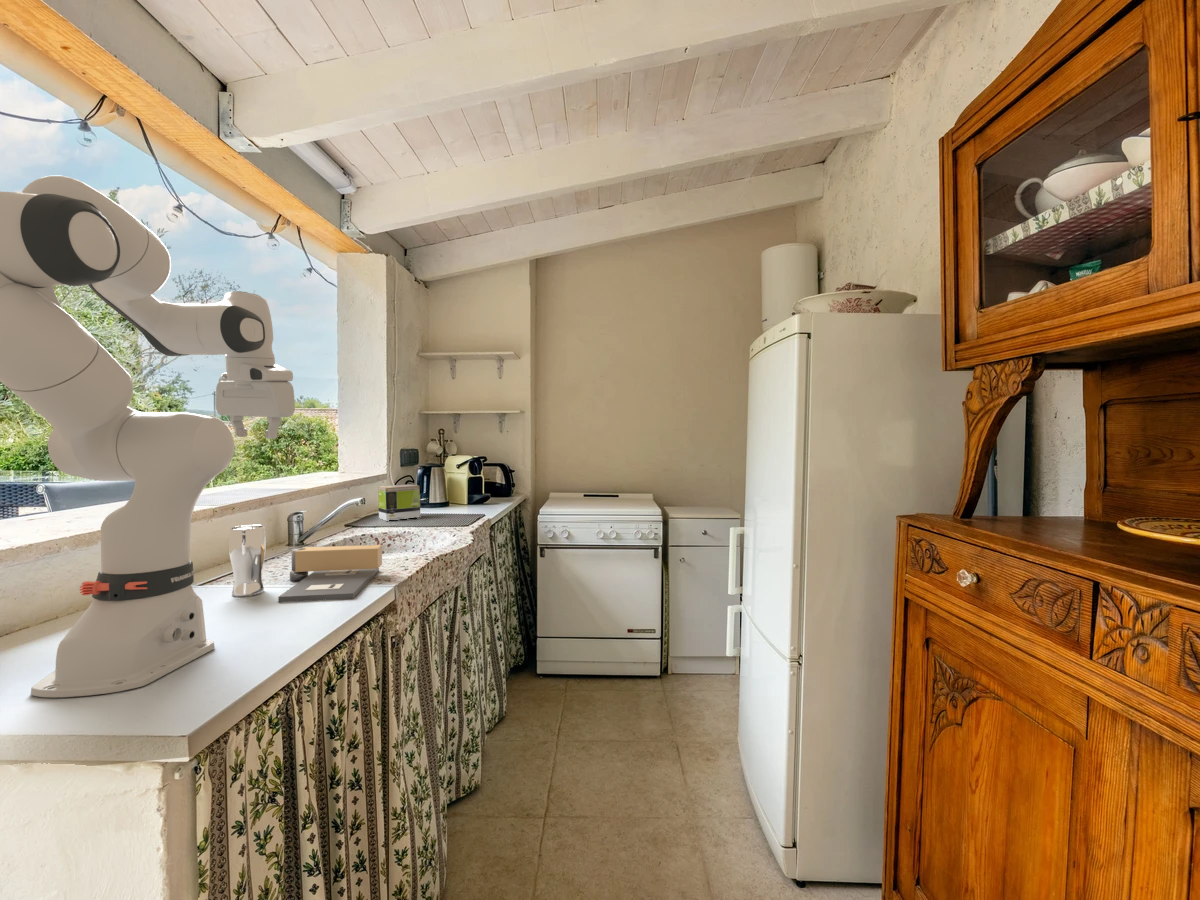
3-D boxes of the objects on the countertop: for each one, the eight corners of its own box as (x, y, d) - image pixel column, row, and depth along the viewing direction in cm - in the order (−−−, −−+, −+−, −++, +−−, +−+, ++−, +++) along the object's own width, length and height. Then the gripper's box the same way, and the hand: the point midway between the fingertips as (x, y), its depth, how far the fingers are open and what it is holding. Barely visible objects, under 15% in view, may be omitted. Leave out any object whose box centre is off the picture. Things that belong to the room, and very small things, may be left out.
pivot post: (305, 581, 135) (305, 573, 135) (287, 581, 134) (287, 573, 134) (310, 577, 139) (310, 569, 139) (293, 577, 138) (293, 570, 138)
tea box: (412, 516, 250) (412, 483, 249) (420, 518, 242) (420, 485, 242) (378, 519, 240) (377, 485, 240) (385, 522, 232) (385, 487, 232)
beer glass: (248, 598, 120) (247, 529, 120) (221, 596, 122) (220, 528, 122) (273, 589, 127) (272, 525, 127) (247, 588, 129) (247, 524, 128)
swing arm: (377, 568, 138) (377, 548, 137) (288, 572, 134) (288, 551, 134) (382, 564, 142) (381, 544, 142) (295, 567, 139) (295, 547, 139)
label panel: (353, 598, 120) (353, 591, 120) (278, 602, 117) (278, 595, 117) (378, 570, 146) (378, 565, 146) (317, 573, 143) (317, 567, 143)
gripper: (204, 372, 118) (209, 436, 119) (270, 372, 110) (275, 441, 112) (233, 372, 123) (238, 434, 125) (298, 372, 116) (302, 438, 117)
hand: (256, 437), depth 118 cm, fingers open, 8 cm apart
